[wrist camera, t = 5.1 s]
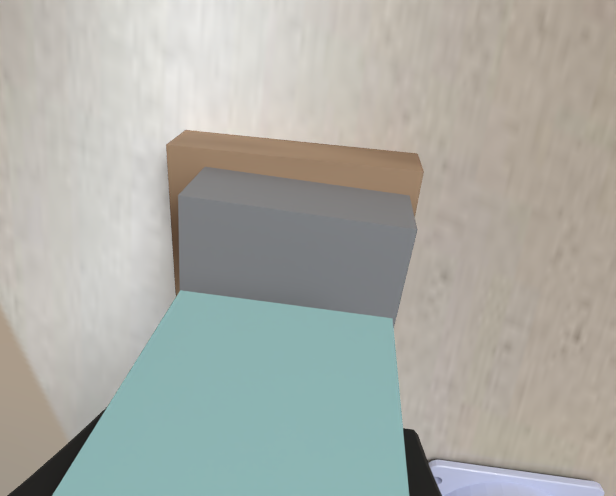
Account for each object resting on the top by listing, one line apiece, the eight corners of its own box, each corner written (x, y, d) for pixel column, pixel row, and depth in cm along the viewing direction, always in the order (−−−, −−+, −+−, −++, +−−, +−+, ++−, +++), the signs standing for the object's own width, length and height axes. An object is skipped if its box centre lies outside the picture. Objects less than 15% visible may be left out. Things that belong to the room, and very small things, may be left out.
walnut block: (382, 331, 21) (384, 372, 18) (198, 309, 21) (179, 345, 19) (415, 148, 17) (423, 171, 15) (191, 125, 17) (166, 144, 15)
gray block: (373, 356, 18) (374, 406, 16) (203, 329, 18) (181, 375, 16) (409, 195, 15) (417, 229, 13) (205, 166, 15) (178, 195, 13)
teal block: (361, 464, 12) (361, 731, 8) (186, 438, 12) (87, 684, 8) (392, 318, 10) (416, 570, 6) (180, 290, 10) (41, 512, 6)
